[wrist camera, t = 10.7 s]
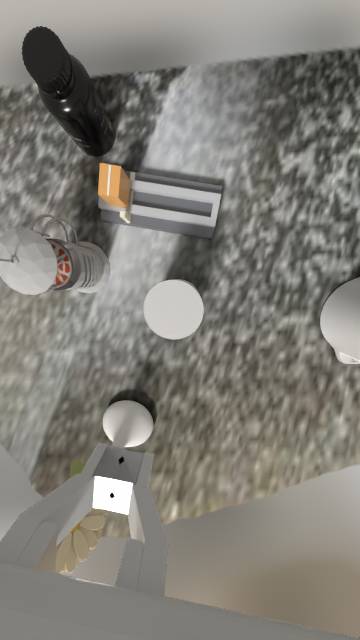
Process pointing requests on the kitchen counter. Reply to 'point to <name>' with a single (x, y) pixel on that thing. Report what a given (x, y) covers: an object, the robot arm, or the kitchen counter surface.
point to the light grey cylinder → (173, 309)
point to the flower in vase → (122, 428)
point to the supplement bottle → (68, 91)
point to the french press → (50, 261)
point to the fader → (114, 185)
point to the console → (167, 205)
